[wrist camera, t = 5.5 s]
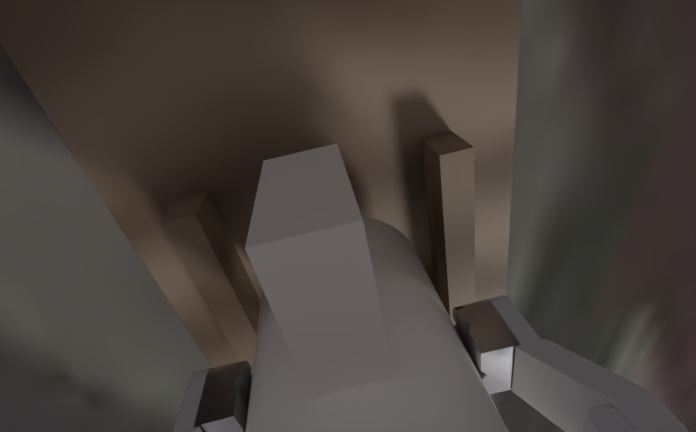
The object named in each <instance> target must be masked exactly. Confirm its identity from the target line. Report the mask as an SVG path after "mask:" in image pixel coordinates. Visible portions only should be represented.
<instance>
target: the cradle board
mask: <svg viewBox="0 0 696 432" xmlns="http://www.w3.org/2000/svg"><path fill="white" fill-rule="evenodd" d="M521 8H522V0H0V45H1V46H2V48H3V50H4V51H5V53H6V54H7V56H8V57H9V59H10V60H11V62H12V63H13V65H14V66H15V68H16V69H17V71H18V72H19V74H20V75H21V77H22V78H23V80H24V81H25V83H26V84H27V86H28V88H29V89H30V91H31V92H32V94H33V95H34V97H35V98H36V100H37V101H38V103H39V104H40V106H41V107H42V109H43V110H44V112H45V113H46V115H47V116H48V118H49V119H50V121H51V122H52V124H53V126H54V127H55V129H56V130H57V132H58V133H59V135H60V136H61V138H62V139H63V141H64V142H65V144H66V145H67V147H68V148H69V150H70V151H71V153H72V154H73V156H74V157H75V159H76V161H77V162H78V164H79V165H80V167H81V168H82V170H83V171H84V173H85V174H86V176H87V177H88V179H89V180H90V182H91V183H92V185H93V186H94V188H95V189H96V191H97V192H98V194H99V195H100V197H101V199H102V200H103V202H104V203H105V205H106V206H107V208H108V209H109V211H110V212H111V214H112V215H113V217H114V218H115V220H116V221H117V223H118V224H119V226H120V227H121V229H122V230H123V232H124V234H125V235H126V237H127V238H128V240H129V241H130V243H131V244H132V246H133V247H134V249H135V250H136V252H137V253H138V255H139V256H140V258H141V259H142V261H143V262H144V264H145V265H146V267H147V268H148V270H149V272H150V273H151V275H152V276H153V278H154V279H155V281H156V282H157V284H158V285H159V287H160V288H161V290H162V291H163V293H164V294H165V296H166V297H167V299H168V300H169V302H170V303H171V305H172V307H173V308H174V310H175V311H176V313H177V314H178V316H179V317H180V319H181V320H182V322H183V323H184V325H185V326H186V328H187V329H188V331H189V332H190V334H191V335H192V337H193V338H194V340H195V341H196V343H197V345H198V346H199V348H200V349H201V351H202V352H203V354H204V355H205V357H206V358H207V360H208V361H209V363H210V364H211V366H212V367H213V368H214V367H219V366H223V365H228V364H232V363H237V362H241V361H248V363H249V364H250V366H251V375H252V373H253V364H254V356H255V347H256V339H257V330H258V322H259V313H260V305H261V296H262V286H261V284H260V282H259V279H258V277H257V275H256V273H255V270H254V268H253V266H252V264H251V261H250V259H249V257H248V254H247V252H246V250H245V245H246V241H247V236H248V231H249V227H250V222H251V217H252V212H253V208H254V203H255V198H256V194H257V189H258V184H259V180H260V175H261V170H262V166H263V161H264V160H269V159H273V158H277V157H281V156H286V155H290V154H294V153H298V152H303V151H307V150H311V149H315V148H320V147H324V146H328V145H332V144H338V147H339V150H340V153H341V156H342V159H343V162H344V165H345V168H346V171H347V174H348V177H349V180H350V183H351V186H352V189H353V192H354V195H355V198H356V201H357V204H358V207H359V210H360V213H361V216H364V217H370V218H374V219H377V220H380V221H383V222H385V223H387V224H389V225H391V226H393V227H394V228H396V229H397V230H399V231H400V232H401V233H402V234H403V235H405V236H406V238H407V239H408V240H409V241H410V242H411V244H412V246H413V247H414V249H415V251H416V253H417V255H418V257H419V259H420V261H421V263H422V265H423V267H424V269H425V270H426V272H427V274H428V276H429V278H430V280H431V282H432V284H433V286H434V288H435V290H436V292H437V294H438V296H439V298H440V300H441V301H442V303H443V305H444V307H445V309H446V311H447V313H448V315H449V317H450V319H451V321H452V323H453V325H454V326H455V325H456V322H455V321H454V319H453V313H452V311H453V308H455V307H458V306H462V305H466V304H470V303H474V302H477V301H481V300H485V299H486V300H487V299H490V298H494V297H498V296H502V295H505V296H506V286H507V267H508V248H509V230H510V211H511V193H512V174H513V156H514V137H515V119H516V100H517V82H518V63H519V45H520V26H521Z"/></svg>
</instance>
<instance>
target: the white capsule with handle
mask: <svg viewBox="0 0 696 432" xmlns="http://www.w3.org/2000/svg"><path fill="white" fill-rule="evenodd" d="M245 250H246V252H247V254H248V257H249V259H250V261H251V264H252V266H253V268H254V270H255V273H256V275H257V277H258V279H259V282H260V284H261V286H262V296H261V305H260V313H259V322H258V330H257V339H256V347H255V356H254V364H253V373H252V381H251V390H250V398H249V407H248V415H247V424H246V432H509V431H508V429H507V427H506V426H505V424H504V422H503V420H502V418H501V416H500V414H499V412H498V410H497V408H496V406H495V404H494V402H493V400H492V398H491V396H490V395H489V393H488V391H487V389H486V387H485V385H484V383H483V381H482V379H481V377H480V375H479V373H478V371H477V369H476V367H475V365H474V364H473V362H472V360H471V358H470V356H469V354H468V352H467V350H466V348H465V346H464V344H463V342H462V340H461V338H460V336H459V334H458V332H457V331H456V329H455V327H454V325H453V323H452V321H451V319H450V317H449V315H448V313H447V311H446V309H445V307H444V305H443V303H442V301H441V300H440V298H439V296H438V294H437V292H436V290H435V288H434V286H433V284H432V282H431V280H430V278H429V276H428V274H427V272H426V270H425V269H424V267H423V265H422V263H421V261H420V259H419V257H418V255H417V253H416V251H415V249H414V247H413V246H412V244H411V242H410V241H409V240H408V239H407V238H406V236H405V235H403V234H402V233H401V232H400V231H399V230H397V229H396V228H394V227H393V226H391V225H389V224H387V223H385V222H383V221H380V220H377V219H374V218H370V217H364V216H361V213H360V210H359V207H358V204H357V201H356V198H355V195H354V192H353V189H352V186H351V183H350V180H349V177H348V174H347V171H346V168H345V165H344V162H343V159H342V156H341V153H340V150H339V147H338V144H332V145H328V146H324V147H320V148H315V149H311V150H307V151H303V152H298V153H294V154H290V155H286V156H281V157H277V158H273V159H269V160H264V161H263V166H262V170H261V175H260V180H259V184H258V189H257V194H256V198H255V203H254V208H253V212H252V217H251V222H250V227H249V231H248V236H247V241H246V245H245Z"/></svg>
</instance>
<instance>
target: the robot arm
mask: <svg viewBox="0 0 696 432" xmlns="http://www.w3.org/2000/svg"><path fill="white" fill-rule="evenodd" d="M452 313H453V319H454V321H455V322H456V325H455V326H454V327H455V329H456V331H457V332H458V334H459V336H460V338H461V340H462V342H463V344H464V346H465V348H466V350H467V352H468V354H469V356H470V358H471V360H472V362H473V364H474V365H475V367H476V369H477V371H478V373H479V375H480V377H481V379H482V381H483V383H484V385H485V387H486V389H487V391H488V393H489V394H493V393H497V392H502V391H506V390H511V389H512V391H513V392H514V393H515V394H516V395H518V396H519V397H520V398H522V399H523V400H524V401H526V402H527V403H528V404H529V405H531V406H532V407H533V408H535V409H536V410H537V411H539V412H540V413H541V414H543V415H544V416H545V417H546V418H548V419H549V420H550V421H552V422H553V423H554V424H556V425H557V426H558V427H559V428H561V429H562V430H563V431H565V432H689V431H688V430H687V429H686V428H685V426H684V425H683V424H682V423H681V422H680V421H679V420H678V419H677V418H676V417H675V416H674V415H673V414H672V413H671V412H670V411H669V410H668V409H667V408H666V407H665V405H664V404H663V403H662V402H661V401H660V400H659V399H658V398H657V397H656V396H655V395H654V394H653V393H652V392H650V391H648V390H646V389H644V388H643V387H641V386H639V385H637V384H635V383H633V382H631V381H629V380H627V379H625V378H623V377H621V376H619V375H617V374H615V373H613V372H611V371H609V370H607V369H605V368H603V367H601V366H599V365H597V364H595V363H593V362H591V361H589V360H587V359H585V358H583V357H582V356H580V355H578V354H576V353H574V352H572V351H570V350H568V349H566V348H564V347H562V346H560V345H558V344H556V343H554V342H552V341H550V340H548V339H543V340H541V339H540V338H539V337H538V335H537V334H536V333H535V331H534V330H533V329H532V328H531V326H530V325H529V324H528V322H527V321H526V320H525V319H524V317H523V316H522V315H521V313H520V312H519V311H518V310H517V308H516V307H515V306H514V304H513V303H512V302H511V301H510V299H509V298H508V297H507V296H505V295H502V296H498V297H494V298H490V299H487V300H486V299H485V300H481V301H477V302H474V303H470V304H466V305H462V306H458V307H455V308H453V311H452ZM251 381H252V375H251V366H250V364H249V363H248V361H241V362H237V363H232V364H228V365H223V366H219V367H214V368H210V369H206V370H202V371H197V372H193V373H192V375H191V376H190V378H189V380H188V383H187V386H186V390H185V393H184V396H183V400H182V403H181V406H180V410H179V413H178V416H177V420H176V423H175V426H174V430H173V432H246V424H247V415H248V407H249V398H250V390H251Z"/></svg>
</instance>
